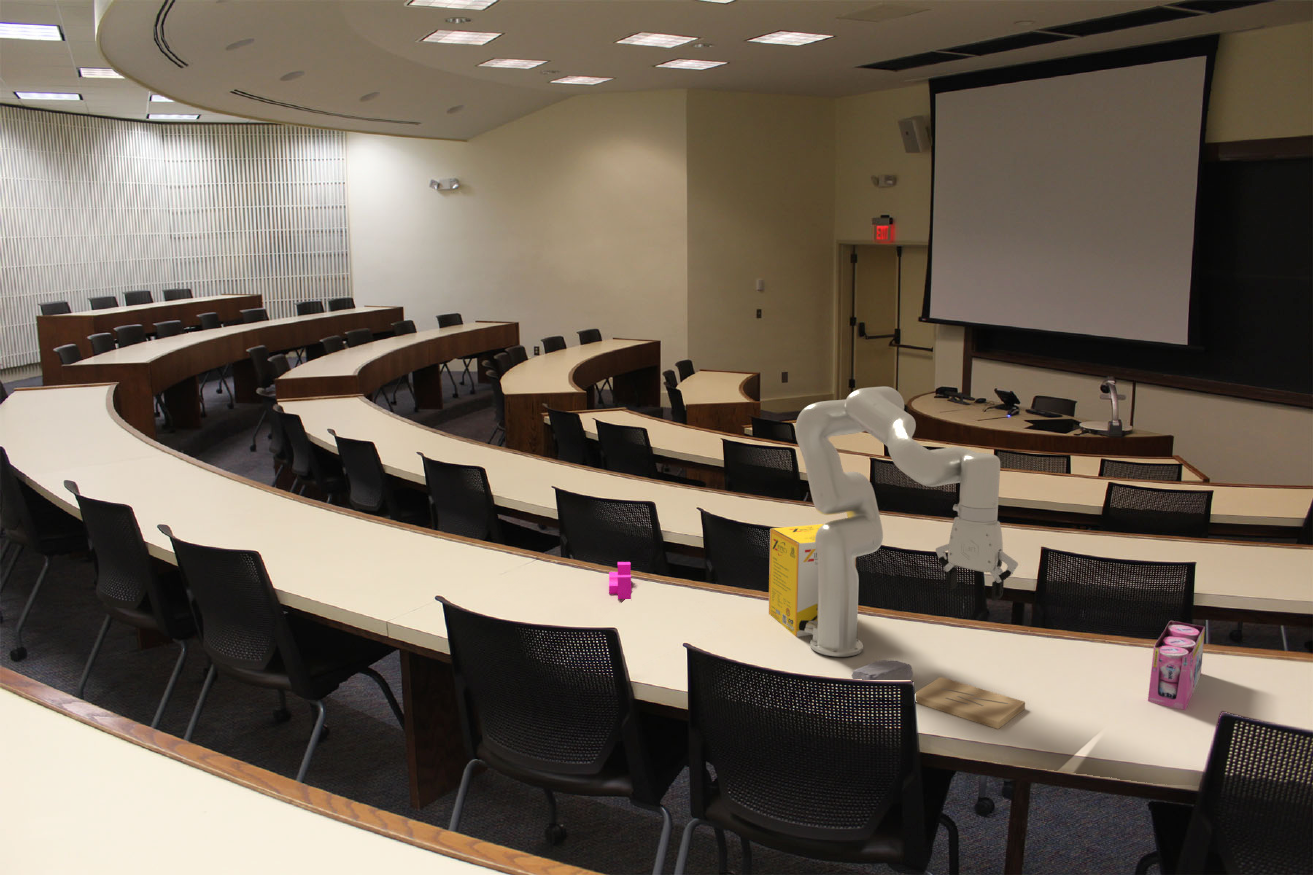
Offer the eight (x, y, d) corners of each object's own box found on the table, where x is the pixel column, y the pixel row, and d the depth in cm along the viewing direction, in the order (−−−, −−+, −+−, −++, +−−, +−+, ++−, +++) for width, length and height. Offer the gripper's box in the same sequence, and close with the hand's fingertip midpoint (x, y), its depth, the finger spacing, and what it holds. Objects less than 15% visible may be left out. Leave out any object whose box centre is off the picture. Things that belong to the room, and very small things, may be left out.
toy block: (609, 586, 284) (609, 562, 282) (630, 586, 284) (630, 561, 283) (608, 603, 269) (608, 577, 268) (631, 602, 269) (631, 577, 268)
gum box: (1184, 715, 198) (1190, 656, 196) (1145, 705, 202) (1150, 648, 201) (1201, 680, 216) (1206, 626, 214) (1164, 672, 220) (1169, 619, 218)
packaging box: (823, 613, 260) (825, 523, 256) (853, 633, 244) (856, 538, 241) (768, 620, 255) (770, 528, 251) (796, 641, 239) (798, 543, 236)
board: (911, 701, 204) (911, 694, 204) (940, 683, 214) (940, 676, 213) (998, 728, 191) (998, 721, 191) (1024, 708, 201) (1025, 701, 201)
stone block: (886, 650, 220) (916, 665, 211) (886, 670, 221) (915, 686, 212) (844, 659, 215) (873, 675, 206) (844, 679, 215) (872, 696, 207)
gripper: (930, 510, 199) (926, 589, 202) (1011, 523, 188) (1006, 608, 190) (947, 504, 205) (943, 581, 207) (1027, 517, 193) (1022, 599, 196)
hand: (973, 594), depth 199 cm, fingers open, 9 cm apart
